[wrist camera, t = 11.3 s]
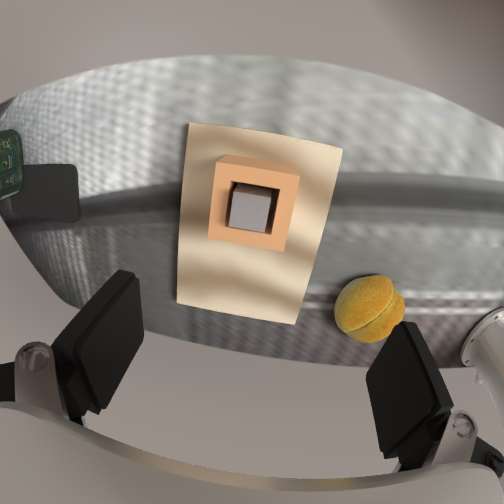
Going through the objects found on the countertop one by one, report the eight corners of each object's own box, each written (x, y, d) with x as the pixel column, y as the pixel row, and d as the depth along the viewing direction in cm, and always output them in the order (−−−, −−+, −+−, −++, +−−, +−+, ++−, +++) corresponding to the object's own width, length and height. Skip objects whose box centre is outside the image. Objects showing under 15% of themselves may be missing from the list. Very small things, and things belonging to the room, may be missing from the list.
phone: (7, 166, 26) (74, 164, 26) (11, 164, 27) (79, 163, 26) (12, 214, 29) (78, 224, 29) (16, 212, 30) (82, 221, 30)
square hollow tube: (282, 226, 27) (283, 251, 22) (220, 215, 27) (207, 238, 22) (295, 165, 24) (300, 176, 19) (228, 154, 24) (216, 162, 19)
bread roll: (374, 258, 28) (385, 277, 25) (407, 304, 31) (419, 324, 27) (317, 302, 31) (321, 324, 28) (357, 340, 34) (363, 362, 30)
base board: (294, 319, 33) (294, 324, 32) (179, 297, 33) (176, 302, 32) (340, 147, 24) (343, 149, 23) (192, 122, 24) (189, 122, 23)
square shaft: (267, 206, 26) (264, 232, 20) (239, 201, 26) (228, 226, 20) (272, 179, 25) (271, 198, 19) (244, 174, 25) (233, 191, 19)
